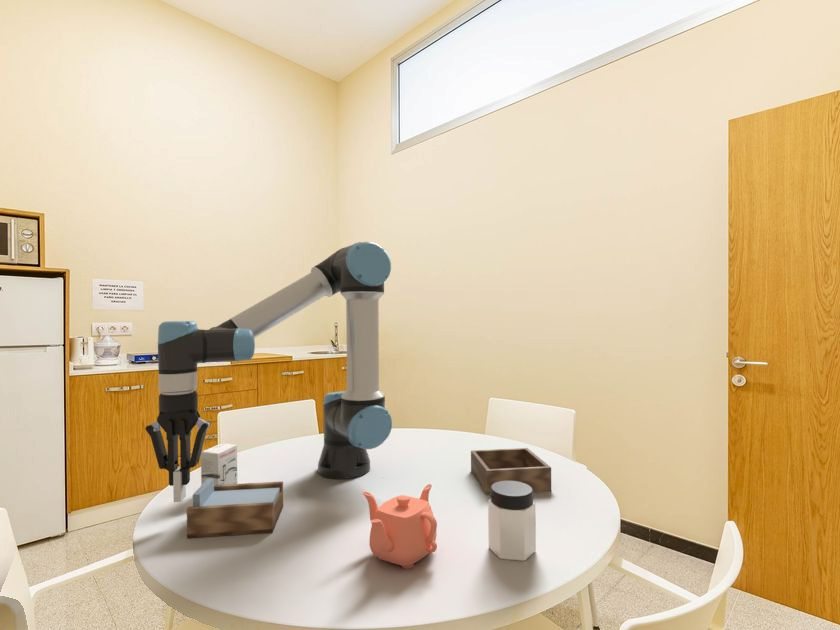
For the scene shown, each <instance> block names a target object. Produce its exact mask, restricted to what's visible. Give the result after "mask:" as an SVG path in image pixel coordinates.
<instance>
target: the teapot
mask: <svg viewBox="0 0 840 630" xmlns="http://www.w3.org/2000/svg"><path fill="white" fill-rule="evenodd" d="M431 488H432V484H427V485H426V486H424V488H423V490H422V491H421V494H420V498H418V497H413V496H409V495H404V494H403V495H402V494H401V495H397V496H395V497H392V498H390V499H388V500H386V501H384V502H383V503H382V504H380V505H379V506H378V503H377V500H376V498H375V497H374V495H373V494H371V492H367V491H361V493H362V495H363V496H364V497H365V498H366V500H367V503H368V512H369V521H370V523H371V527H370V533H369V540H368V541H369V542H368V543H369V548H370V550H371V553H372V555H373V556H375V557H376V558H378V559H379V560H381V561H386V562H389V563H391V564H394V565H398V566H401V567H402V568H403V569H412V568H413V567H414V565H415V563H417V562H418V561H420V560H421V559H423V558H424V557H425V556H427V555H428V554H429V553H434V552H436V551H437V548H438V545H437V542H436V541H437V528H438V521H437V519H436V518H435V515H434V512H433V510H432V506H431V504H430V502H429V497H430V496H429V495H430V491H431Z"/></svg>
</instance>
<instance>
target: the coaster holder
mask: <svg viewBox="0 0 840 630" xmlns="http://www.w3.org/2000/svg"><path fill="white" fill-rule="evenodd" d="M470 472H471V473H472V475H473V476H474V478H475V479H476V481H477V483H479V485H480V487H481V488H482V490H483V491H484V492H485V494H486V495H490V490H491V485H492V484H494V483H496V482H499V481H518V482H522V483H525V484H527V485H529V486H531V487H532V489H533V493H535V492H536V493H537V492H551V491H552V467H551V466H550V465H549V464H548V463H547V462H545V461H544V460H543V459H542V458H541V457H539V456H538V455H537V454H535V452H533V451H532V450H530V449H529V448H528V447H521V448H520V447H518V448H497V449H478V450H477V449H474V450H472V449H471V450H470Z"/></svg>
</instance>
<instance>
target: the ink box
mask: <svg viewBox="0 0 840 630" xmlns="http://www.w3.org/2000/svg"><path fill="white" fill-rule="evenodd" d="M200 474H201V475H200V476H201V477H200V478H201V479H200V480H201V481H200V482H201V483H200V486H201V485H202V484H203V483H204V482H205V481H206V480H207V479H214V485H226V484H238V444H233V443H220V444H217V445H214V446H212V447H209V448H207V449H204V450H202V451H201V456H200Z"/></svg>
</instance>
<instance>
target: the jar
mask: <svg viewBox="0 0 840 630" xmlns="http://www.w3.org/2000/svg"><path fill="white" fill-rule="evenodd" d="M489 496H490V499H488V507H487V508H488V509H487V511H488V515H487V516H488V525H487V526H488V527H487V528H488V548H489V549H490V550H491V551H492V552H493V553H494V554H495V555H496V556H497V557H498V558H499V559H500V560H510V561H520V562H521V561H523V562H524V561H526V560H527V559H529V558H530V557H531V556H532V555H533V554H534V553H535V552H536V549H537V546H536V545H537V544H536V543H537V542H536V541H537V540H536V537H537V536H536V535H537V534H536V532H537V529H536V527H537V526H536V525H537V524H536V520H537V519H536V515H537V514H536V512H537V510H536V503H535V502H534V492H533V489H532V487H531V486H529V485H527V484H525V483H522V482H518V481H499V482H496V483H494V484H492V485H491V490H490V494H489Z"/></svg>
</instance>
